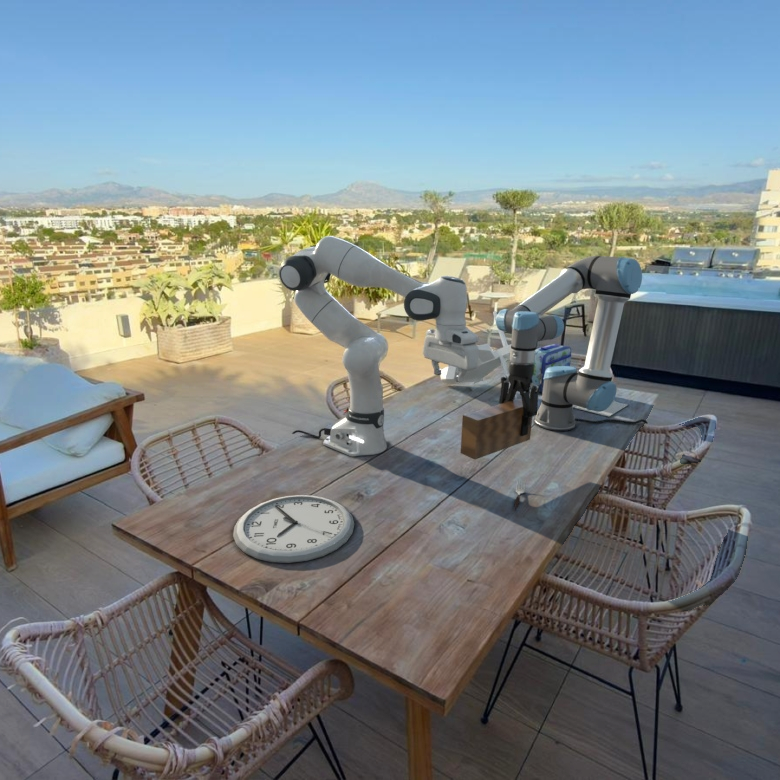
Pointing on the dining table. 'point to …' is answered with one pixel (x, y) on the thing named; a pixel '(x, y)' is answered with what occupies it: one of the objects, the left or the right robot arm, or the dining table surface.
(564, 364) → the lunch box
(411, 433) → the dining table surface
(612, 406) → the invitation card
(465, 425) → the box
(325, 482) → the dining table surface
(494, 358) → the white plastic object
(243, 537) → the wall clock
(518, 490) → the fork
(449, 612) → the dining table surface
